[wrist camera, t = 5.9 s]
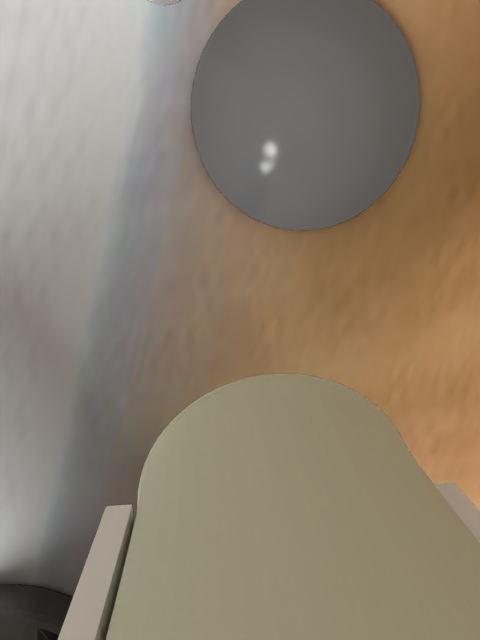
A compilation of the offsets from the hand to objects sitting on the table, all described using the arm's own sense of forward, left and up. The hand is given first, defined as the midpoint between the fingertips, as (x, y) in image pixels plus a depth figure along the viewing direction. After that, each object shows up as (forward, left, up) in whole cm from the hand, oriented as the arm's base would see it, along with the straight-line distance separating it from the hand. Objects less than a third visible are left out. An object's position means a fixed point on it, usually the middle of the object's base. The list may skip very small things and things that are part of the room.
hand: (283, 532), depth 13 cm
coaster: (+3, +14, -14) cm, 20 cm away
